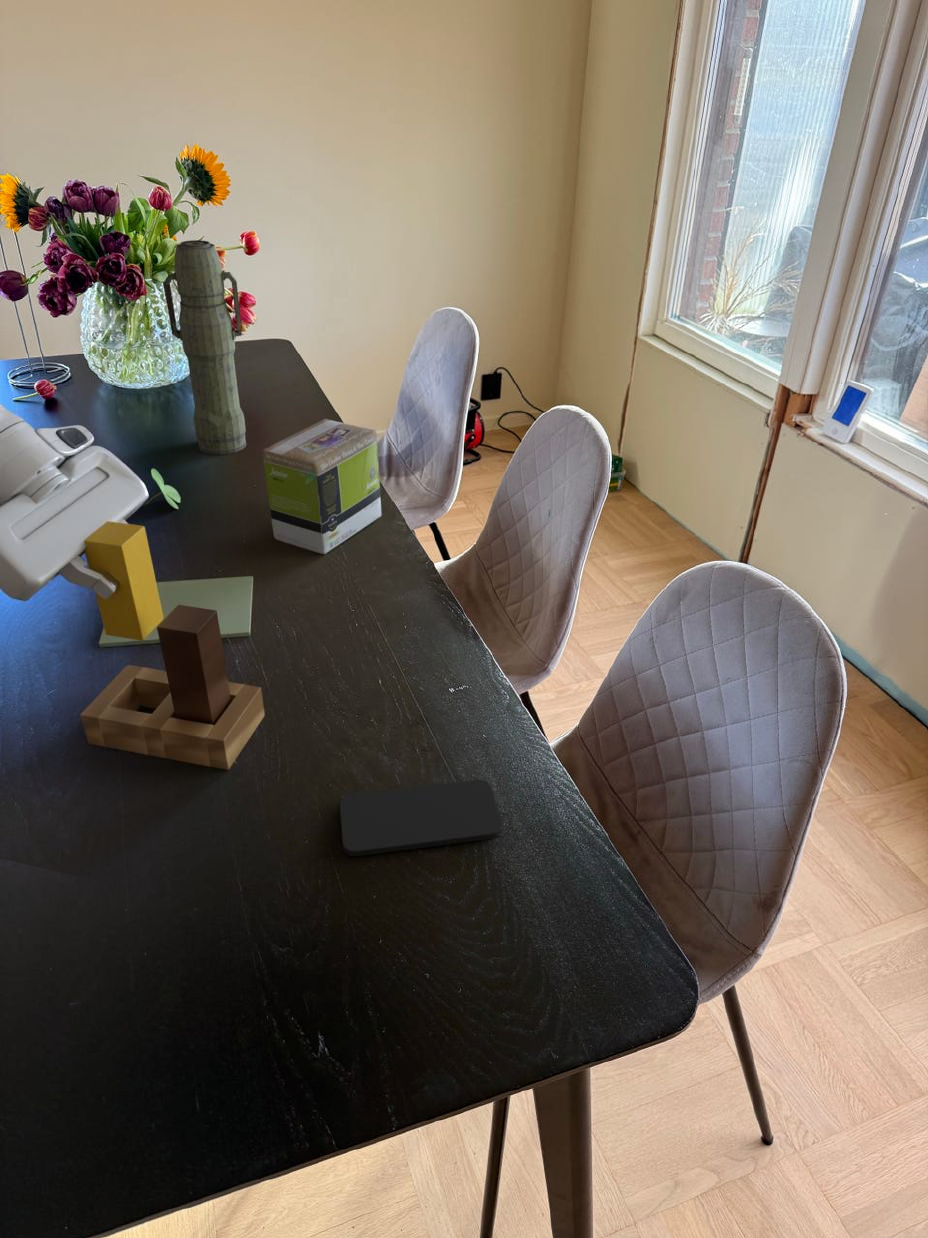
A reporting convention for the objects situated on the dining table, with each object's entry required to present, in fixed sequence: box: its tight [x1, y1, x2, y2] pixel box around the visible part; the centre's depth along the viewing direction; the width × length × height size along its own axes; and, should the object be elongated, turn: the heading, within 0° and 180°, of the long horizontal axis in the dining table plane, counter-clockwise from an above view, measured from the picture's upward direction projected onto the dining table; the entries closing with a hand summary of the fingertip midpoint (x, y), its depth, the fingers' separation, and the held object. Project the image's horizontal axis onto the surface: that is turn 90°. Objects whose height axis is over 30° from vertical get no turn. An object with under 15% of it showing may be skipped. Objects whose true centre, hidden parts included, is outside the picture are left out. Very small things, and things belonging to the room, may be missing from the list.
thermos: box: [162, 239, 247, 456], centre depth 149 cm, size 9×12×35 cm
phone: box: [339, 779, 503, 857], centre depth 82 cm, size 7×1×15 cm
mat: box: [98, 575, 254, 648], centre depth 112 cm, size 18×14×1 cm
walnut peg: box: [157, 605, 231, 725], centre depth 88 cm, size 4×4×15 cm
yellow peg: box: [84, 521, 164, 641], centre depth 85 cm, size 4×4×11 cm
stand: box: [79, 664, 266, 771], centre depth 91 cm, size 16×9×4 cm, turn 77°
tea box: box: [262, 418, 382, 555], centre depth 128 cm, size 15×10×15 cm, turn 150°
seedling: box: [139, 468, 181, 510], centre depth 136 cm, size 7×8×7 cm
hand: (129, 578), depth 85 cm, fingers closed on yellow peg, 4 cm apart
